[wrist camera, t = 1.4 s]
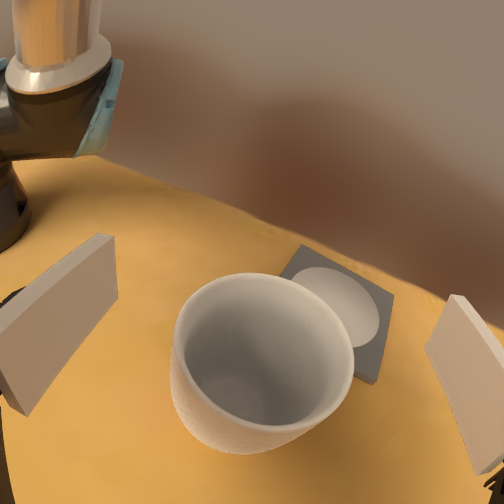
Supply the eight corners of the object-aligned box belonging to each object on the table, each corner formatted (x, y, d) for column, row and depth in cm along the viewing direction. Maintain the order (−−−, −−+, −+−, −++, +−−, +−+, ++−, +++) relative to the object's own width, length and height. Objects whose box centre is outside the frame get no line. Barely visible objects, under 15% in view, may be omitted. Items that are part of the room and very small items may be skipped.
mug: (284, 339, 33) (335, 253, 25) (335, 422, 26) (418, 359, 18) (151, 375, 26) (149, 285, 18) (195, 484, 19) (221, 466, 11)
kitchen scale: (250, 319, 34) (253, 313, 33) (299, 249, 46) (302, 243, 45) (371, 384, 31) (377, 380, 30) (390, 299, 43) (394, 294, 42)
